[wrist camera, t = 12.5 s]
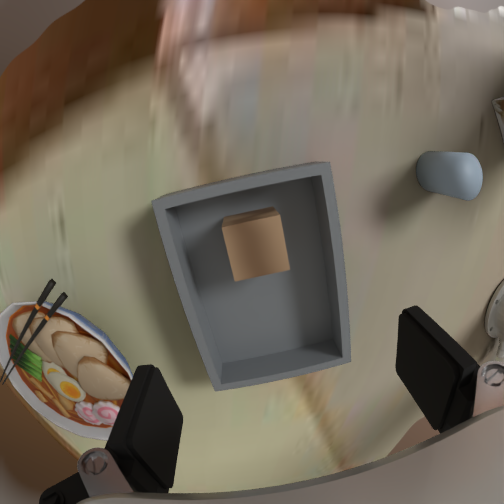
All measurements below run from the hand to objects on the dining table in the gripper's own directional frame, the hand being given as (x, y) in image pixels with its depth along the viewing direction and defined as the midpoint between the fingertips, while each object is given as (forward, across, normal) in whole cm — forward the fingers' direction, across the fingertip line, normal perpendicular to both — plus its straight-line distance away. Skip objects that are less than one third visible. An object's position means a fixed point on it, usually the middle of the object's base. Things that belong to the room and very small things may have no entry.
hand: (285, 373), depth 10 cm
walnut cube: (+21, 0, 0) cm, 21 cm away
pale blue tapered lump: (+22, -23, -3) cm, 32 cm away
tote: (+22, 0, +5) cm, 23 cm away
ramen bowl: (+22, +27, +11) cm, 37 cm away
